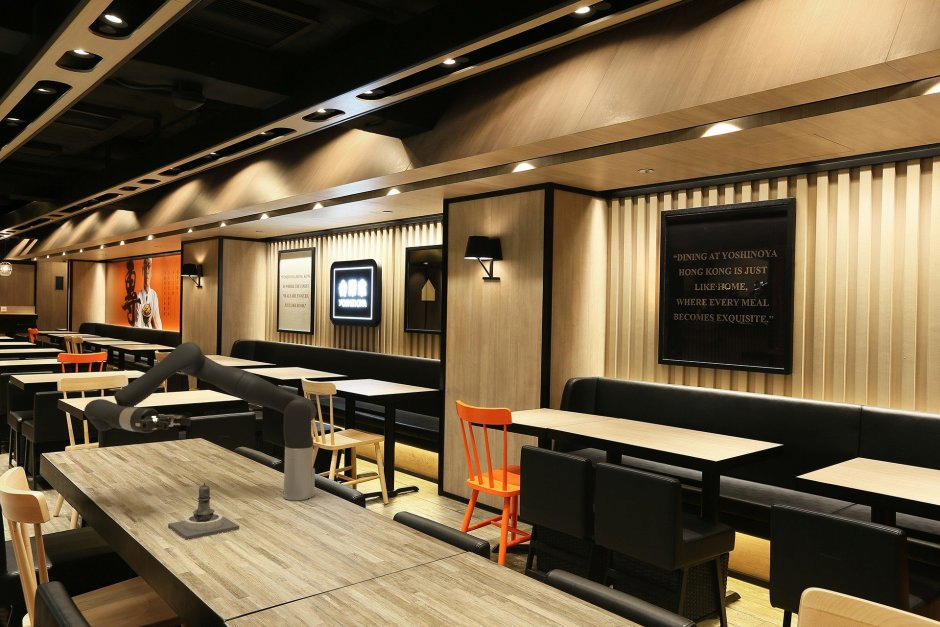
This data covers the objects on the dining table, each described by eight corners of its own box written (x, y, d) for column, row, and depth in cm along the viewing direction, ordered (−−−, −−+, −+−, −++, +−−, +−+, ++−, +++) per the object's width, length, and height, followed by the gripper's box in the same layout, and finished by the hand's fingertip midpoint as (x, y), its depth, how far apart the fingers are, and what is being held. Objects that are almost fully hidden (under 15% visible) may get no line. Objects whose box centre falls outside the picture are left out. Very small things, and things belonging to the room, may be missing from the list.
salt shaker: (206, 528, 192) (207, 485, 192) (188, 526, 193) (189, 483, 193) (218, 521, 198) (219, 480, 198) (200, 520, 199) (201, 479, 199)
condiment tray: (219, 517, 206) (219, 507, 206) (239, 529, 196) (239, 518, 196) (168, 527, 196) (168, 516, 196) (186, 540, 186) (186, 529, 185)
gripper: (120, 410, 205) (160, 414, 199) (157, 404, 218) (197, 408, 212) (119, 435, 205) (159, 440, 199) (157, 428, 218) (196, 432, 212)
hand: (179, 424), depth 205 cm, fingers open, 8 cm apart
